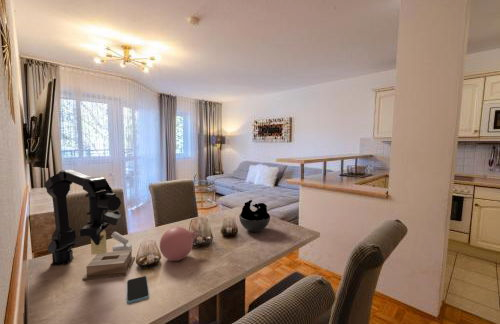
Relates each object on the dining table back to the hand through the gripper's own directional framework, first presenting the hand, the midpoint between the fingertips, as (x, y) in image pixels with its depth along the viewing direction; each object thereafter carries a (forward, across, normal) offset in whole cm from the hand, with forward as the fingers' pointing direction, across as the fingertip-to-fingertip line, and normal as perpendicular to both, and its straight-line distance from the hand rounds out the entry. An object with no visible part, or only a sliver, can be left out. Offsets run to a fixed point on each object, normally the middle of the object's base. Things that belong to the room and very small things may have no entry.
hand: (98, 243), depth 97 cm
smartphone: (+14, -14, -19) cm, 27 cm away
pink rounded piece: (+13, +8, -33) cm, 37 cm away
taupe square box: (+13, +3, -3) cm, 14 cm away
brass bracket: (+4, 0, 0) cm, 4 cm away
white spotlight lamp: (+13, +21, -2) cm, 25 cm away
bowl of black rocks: (+13, +35, -76) cm, 85 cm away
